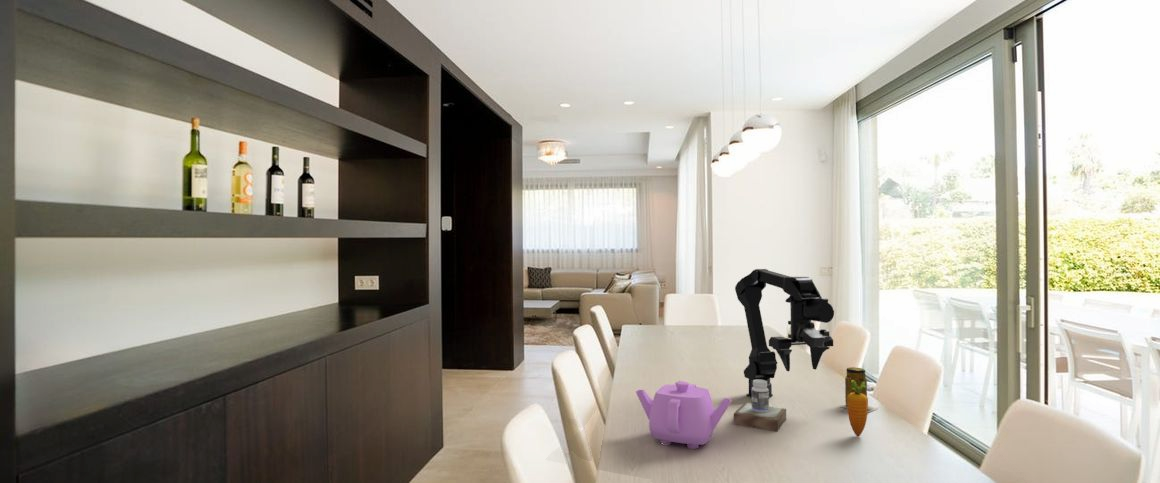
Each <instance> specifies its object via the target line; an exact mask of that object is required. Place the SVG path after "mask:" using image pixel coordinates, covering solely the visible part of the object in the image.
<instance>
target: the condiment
mask: <svg viewBox="0 0 1160 483" xmlns="http://www.w3.org/2000/svg"><path fill="white" fill-rule="evenodd" d="M866 376H867V375H866V370H865V369H864V368H860V367H855V366H854V367H847V368H846V376H845V378H844V379H845V380H844V381H845V384H844V385H845V389H844V391H845V400H844V401H845V404H842V405H840V408H844V409H848V407H847V396H848V395H849V394H850V393H854V390H853V389H852V388H853V386H852V383H851V380H854V381H855V382H856V384H857V386H858V387H860V386H861V384H862V382H863V381H864V382H866V383H865V386H866V388H863V390H862V391H861V393H862V394H864V395H866V396H867V397H868V379H867V377H866ZM878 409H879V408H878V407H874V406H870V405H868V413H870V412H873V411H876V410H878Z"/></svg>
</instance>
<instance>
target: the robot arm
mask: <svg viewBox="0 0 1160 483" xmlns="http://www.w3.org/2000/svg"><path fill="white" fill-rule="evenodd" d="M767 285H771V286H774V287H776V288H778V289H782V291H783V292H784V293H786V295H789V297H787V298H786V299H785V302H786V303H790V320H788V321H787V324H788V325H790V333H789V334H787V335H788V336H787V337H784V336H770V338H769V340H768V344H767V340H766V334H765V329H764V323H763V318H762V314H761V308H760V303H761V300H762V299H763V293H762V292H763V290H764V289H765V288H766V287H767ZM734 290H735V294H736V296H737V298H736V299H737V301H738V302H739V303H740V304H741V305H742V306H743V309H744V313H745V318H746V324H747V330H748V336H749V340H750V345H751V351H750V353H749V356H748V365H747V366H746V368H744V370H743V375H744V378H745V379H748V393H746V397H750V398H752V387H753V380H756V379H760V380H765V381H767V388H768V389H769V398H771V397H773V396H774V394H773V393H772V392H773V390H772V388H773V387H772V383H771V379H775V375H776V372H777V369H778V367H777V366H778V365H777V364H778V361H777V357H776V353H777V354H778V356H779V358H780V360H781V362H782V364H783V366H784V368H785V371H786V372H790V370H791V357H790V356H791V353H792V351H793V349H790V348H791V347H792V346H800V345H801V346H802V345H807V346H808V347H809V353H810V358H811V359H810V361H811V366H812V369H813V370H817V368H818V365H819V363H820V361H821V358H822V355H823V353H824V352H826V351H827V350H830V347H834V339H833V338H832V336H830V335H831V334H830V331H829V329H827V328H822V329H816V327H815V322H819V323H827V324H828V323H830V322H831V321H832V320H833V318H834V317H835V310H834V308H833V306H832V304H830V303H829V298H823V297H822V296H821V293H820V292H819V290H818V288H817V287H816V285H815V283H814V281H813V278H812V277H810V276H790V275H786V274H784V273H783V274H782V273H779V272H775V271H772V270H769V269H767V268H754V269H753V270H752V271H751V272H750V273H749V274H747V275H746V276H743V277H742V278H741V279H740V280H739V281H738V282H737V283H736V285H735V287H734ZM812 321H813V322H812ZM768 346H769V347H771V348H772V349H773V350H775V351H773V350H772V351H771V350H770V348H769V347H768Z"/></svg>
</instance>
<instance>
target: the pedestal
mask: <svg viewBox="0 0 1160 483" xmlns="http://www.w3.org/2000/svg"><path fill="white" fill-rule="evenodd" d="M786 420H787V408H784V407H783V408H782V407H778V406H777V407H776V406H775V407H774V406H770V405H769V411H768V412H756V411H754V410H752V403H747V402H743V404H742V405H741V406H739V408H737V409H736V410H735V412H733V425H736V426H738V425H739V426H743V427H749V428H756V429H760V430H761V429H762V430H767V431H772V432H779V430H780V429H781V427H782V426H783V425H784V424H785V422H786Z"/></svg>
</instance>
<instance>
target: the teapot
mask: <svg viewBox="0 0 1160 483" xmlns="http://www.w3.org/2000/svg"><path fill="white" fill-rule="evenodd" d="M635 394H636V396H637V397H638V400H639V402H640V404H641V406H642V408H643V411H644V412H645V414H646V416H647V419H648V428H649V432H650V434H651V436H652V438H654V439H657V440H660V441H659V443H660V442H661V443H663V444H669V445H671V444H672V443H678V444H686V446H687V448H688V449H690V448H691V449H690V450H698V449H700V446H699V445H705V444H707V443H708V442H709V441H710V440H711V437H712V435H713V434H714V431H715V428H717V426H718V425H719V422H720V421H721V419H722V417H723V416H724V415H725V413H726V411H727V409H728V408H729V406H730V404H731V403H732V399H730V398H726V397H723V399H722V401H721V402H720V403H719V405H718V406H717V407H716V409H715V408H714V407H715V406H714V403H713V400H712V397H711V396H712V395H711V392H710V391H709V389H708V388H704V387H698V386H697V384H695V383H689V382H688V381H683V380H682V381H680V380H679V381H677V382H676V381H675V384H663V385H662V386H661V387H660V388H659V389H658V390H657V391H656V392H655V394H654V397H653V399H652V398H651V397H650V396H649V394H648V393H647V392H646V391H645V389H637V390H636V391H635ZM670 443H671V444H670ZM663 444H662V445H663ZM697 448H698V449H697Z"/></svg>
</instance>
